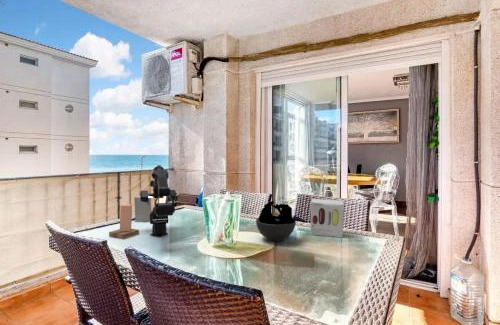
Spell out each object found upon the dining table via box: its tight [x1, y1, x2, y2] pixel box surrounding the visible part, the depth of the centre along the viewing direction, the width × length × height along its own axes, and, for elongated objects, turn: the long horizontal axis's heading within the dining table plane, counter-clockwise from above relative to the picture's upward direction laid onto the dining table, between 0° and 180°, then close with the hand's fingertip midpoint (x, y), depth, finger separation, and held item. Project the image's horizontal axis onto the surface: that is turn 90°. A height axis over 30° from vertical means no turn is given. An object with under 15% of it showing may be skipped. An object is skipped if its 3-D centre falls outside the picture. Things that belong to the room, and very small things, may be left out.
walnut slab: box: [108, 228, 140, 240], centre depth 145 cm, size 10×10×3 cm
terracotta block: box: [119, 204, 133, 232], centre depth 145 cm, size 5×5×13 cm
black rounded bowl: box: [255, 200, 297, 242], centre depth 142 cm, size 20×20×19 cm
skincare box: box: [133, 195, 152, 223], centre depth 177 cm, size 8×7×16 cm
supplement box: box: [309, 198, 345, 238], centre depth 157 cm, size 17×13×18 cm
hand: (157, 204), depth 161 cm, fingers open, 9 cm apart
